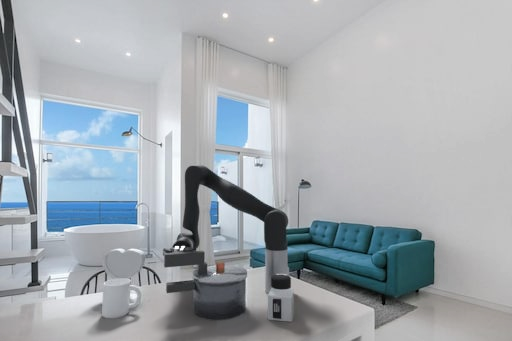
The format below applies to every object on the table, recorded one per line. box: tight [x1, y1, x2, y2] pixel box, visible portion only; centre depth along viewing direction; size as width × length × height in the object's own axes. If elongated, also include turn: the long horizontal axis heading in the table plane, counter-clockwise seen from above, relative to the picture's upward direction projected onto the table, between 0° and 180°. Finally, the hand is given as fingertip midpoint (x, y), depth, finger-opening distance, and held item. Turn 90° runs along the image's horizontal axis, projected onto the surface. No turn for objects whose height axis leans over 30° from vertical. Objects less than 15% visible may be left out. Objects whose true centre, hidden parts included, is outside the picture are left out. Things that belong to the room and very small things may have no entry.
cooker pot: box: [165, 278, 247, 321], centre depth 98 cm, size 27×18×11 cm, turn 111°
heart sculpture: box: [101, 248, 146, 300], centre depth 111 cm, size 16×5×18 cm, turn 90°
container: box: [267, 274, 295, 323], centre depth 94 cm, size 8×8×13 cm
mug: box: [101, 278, 142, 319], centre depth 95 cm, size 12×8×10 cm
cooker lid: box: [163, 250, 248, 284], centre depth 98 cm, size 28×19×9 cm, turn 112°
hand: (176, 256), depth 99 cm, fingers closed
